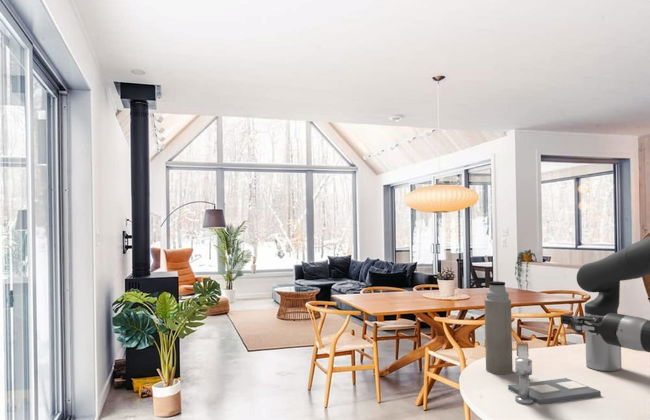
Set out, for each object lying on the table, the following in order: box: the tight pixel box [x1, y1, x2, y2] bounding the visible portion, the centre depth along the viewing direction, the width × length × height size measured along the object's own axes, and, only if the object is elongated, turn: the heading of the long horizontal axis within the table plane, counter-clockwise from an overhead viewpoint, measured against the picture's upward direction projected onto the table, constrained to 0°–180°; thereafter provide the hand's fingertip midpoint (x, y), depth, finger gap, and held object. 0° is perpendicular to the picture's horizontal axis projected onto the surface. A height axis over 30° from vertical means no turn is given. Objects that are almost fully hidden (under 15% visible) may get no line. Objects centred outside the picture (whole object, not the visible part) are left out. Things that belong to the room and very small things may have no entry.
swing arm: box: [514, 341, 533, 376], centre depth 134 cm, size 22×4×4 cm, turn 159°
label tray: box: [507, 377, 602, 405], centre depth 132 cm, size 20×12×2 cm, turn 107°
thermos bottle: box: [484, 280, 514, 375], centre depth 153 cm, size 8×8×28 cm
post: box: [514, 374, 535, 405], centre depth 126 cm, size 4×4×7 cm
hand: (562, 318), depth 127 cm, fingers closed
